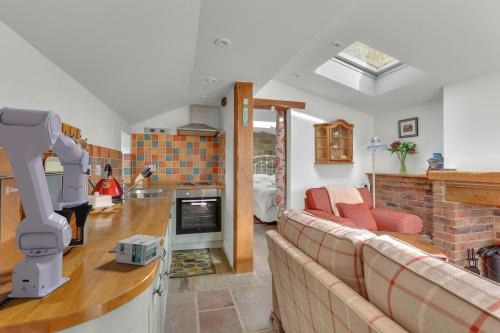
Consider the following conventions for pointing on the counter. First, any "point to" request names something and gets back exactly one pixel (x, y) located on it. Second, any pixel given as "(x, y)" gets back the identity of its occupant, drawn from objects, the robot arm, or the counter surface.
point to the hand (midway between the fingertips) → (72, 229)
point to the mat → (113, 249)
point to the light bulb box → (139, 249)
